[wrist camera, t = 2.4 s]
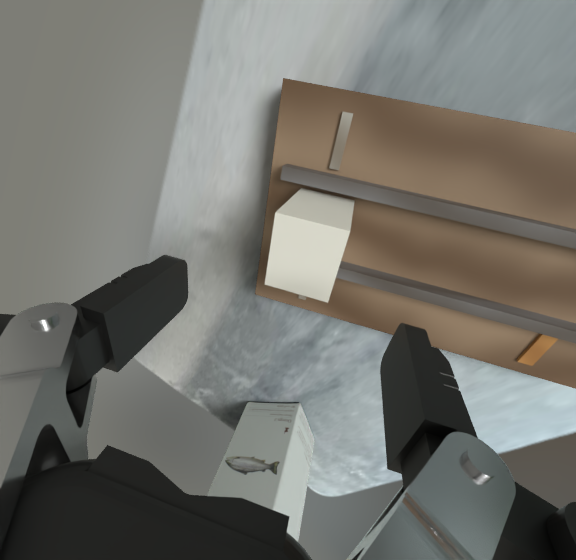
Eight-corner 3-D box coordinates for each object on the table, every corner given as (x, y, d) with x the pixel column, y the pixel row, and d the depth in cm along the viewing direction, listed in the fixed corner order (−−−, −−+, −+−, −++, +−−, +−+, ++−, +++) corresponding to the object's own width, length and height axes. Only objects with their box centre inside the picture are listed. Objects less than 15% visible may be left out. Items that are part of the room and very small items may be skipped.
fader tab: (301, 187, 17) (275, 212, 12) (354, 200, 17) (350, 231, 12) (290, 243, 19) (264, 284, 14) (337, 256, 19) (327, 302, 14)
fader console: (291, 83, 17) (277, 74, 14) (783, 176, 13) (888, 188, 11) (262, 282, 24) (250, 301, 22) (569, 371, 21) (599, 406, 19)
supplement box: (301, 400, 31) (268, 541, 21) (315, 440, 34) (294, 580, 24) (246, 399, 34) (191, 524, 23) (264, 436, 37) (223, 561, 26)
